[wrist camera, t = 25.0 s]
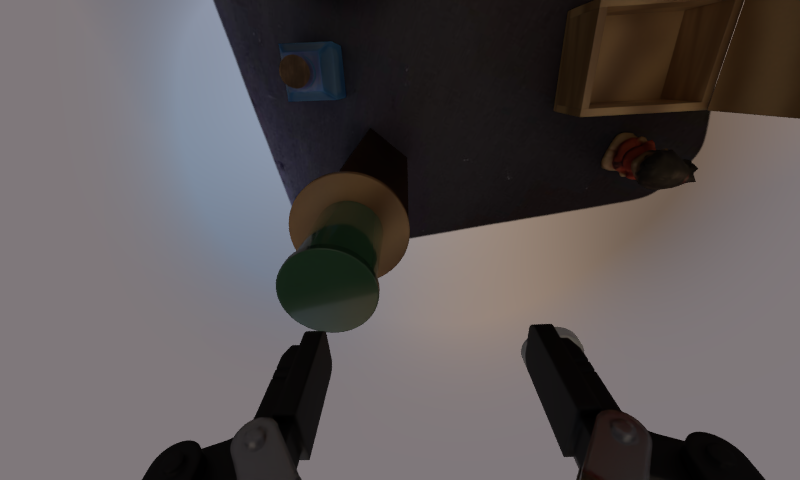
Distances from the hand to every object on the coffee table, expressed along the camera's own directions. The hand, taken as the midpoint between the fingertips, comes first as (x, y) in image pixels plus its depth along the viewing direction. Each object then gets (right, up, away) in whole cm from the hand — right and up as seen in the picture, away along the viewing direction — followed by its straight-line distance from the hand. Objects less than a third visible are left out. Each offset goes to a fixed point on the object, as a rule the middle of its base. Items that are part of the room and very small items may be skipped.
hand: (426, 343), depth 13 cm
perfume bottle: (-12, +27, +32) cm, 43 cm away
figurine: (+32, +17, +36) cm, 51 cm away
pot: (-5, +5, +14) cm, 16 cm away
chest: (+28, +28, +30) cm, 50 cm away
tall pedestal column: (-5, +16, +37) cm, 41 cm away
